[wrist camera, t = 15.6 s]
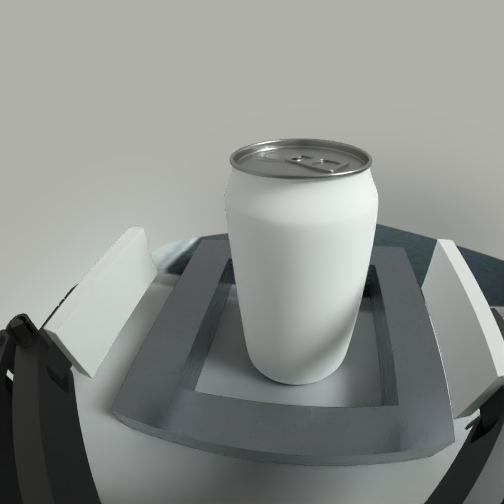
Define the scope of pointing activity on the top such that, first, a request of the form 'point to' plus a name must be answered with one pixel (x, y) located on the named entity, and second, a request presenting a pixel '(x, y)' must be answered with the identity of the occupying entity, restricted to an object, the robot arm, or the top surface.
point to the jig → (291, 416)
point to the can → (300, 251)
